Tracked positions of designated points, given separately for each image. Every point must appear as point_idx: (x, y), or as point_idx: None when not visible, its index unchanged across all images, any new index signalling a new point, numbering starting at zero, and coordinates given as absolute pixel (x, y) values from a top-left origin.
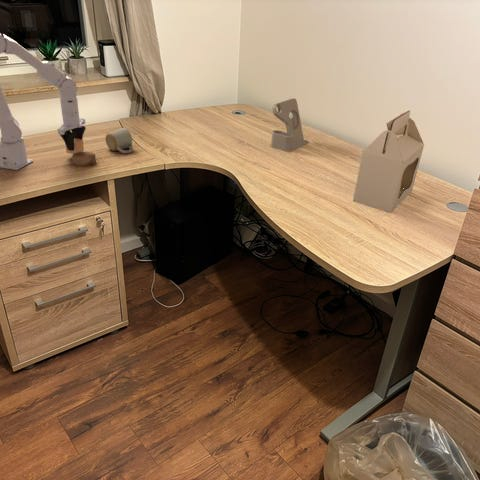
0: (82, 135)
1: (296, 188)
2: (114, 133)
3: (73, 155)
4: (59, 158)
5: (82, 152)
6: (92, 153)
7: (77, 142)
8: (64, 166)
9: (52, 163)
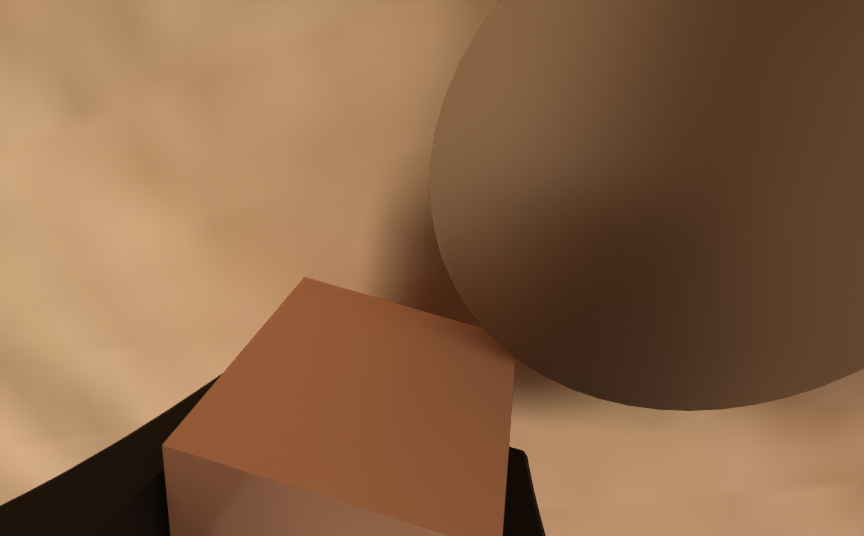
0: (26, 525)
1: None
2: None
3: (695, 394)
4: None
5: (498, 274)
6: (541, 19)
7: (419, 517)
8: (829, 403)
9: (688, 529)
